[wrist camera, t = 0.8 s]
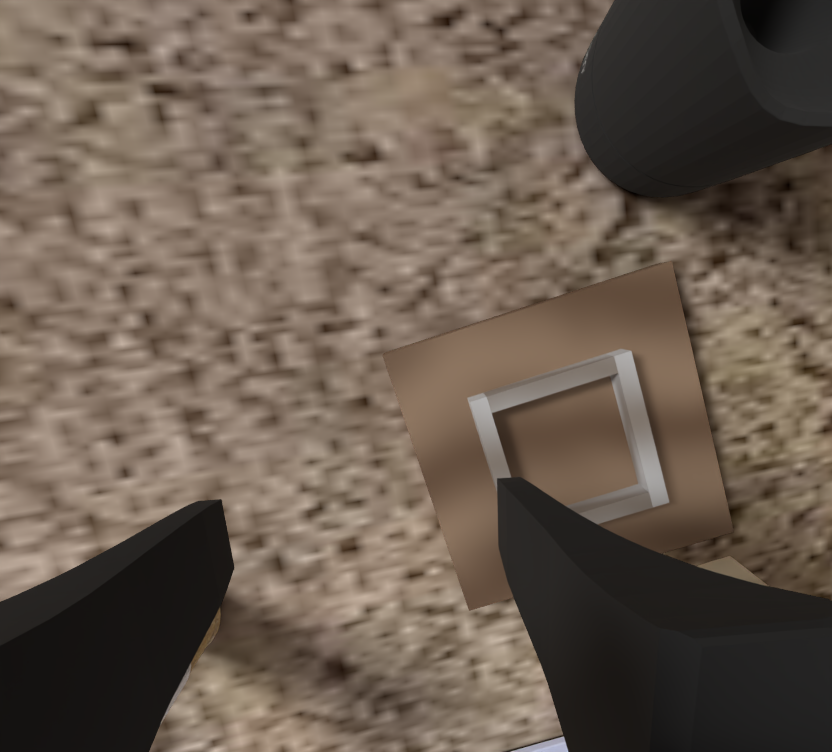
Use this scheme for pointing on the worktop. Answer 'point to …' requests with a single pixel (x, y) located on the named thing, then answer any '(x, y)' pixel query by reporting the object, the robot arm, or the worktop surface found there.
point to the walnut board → (565, 421)
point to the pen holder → (704, 90)
